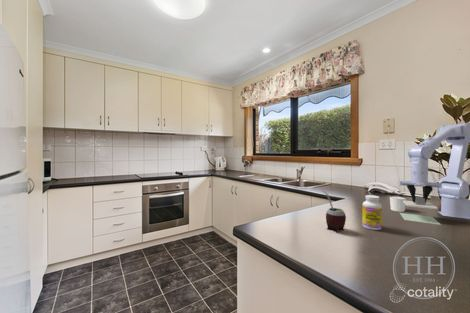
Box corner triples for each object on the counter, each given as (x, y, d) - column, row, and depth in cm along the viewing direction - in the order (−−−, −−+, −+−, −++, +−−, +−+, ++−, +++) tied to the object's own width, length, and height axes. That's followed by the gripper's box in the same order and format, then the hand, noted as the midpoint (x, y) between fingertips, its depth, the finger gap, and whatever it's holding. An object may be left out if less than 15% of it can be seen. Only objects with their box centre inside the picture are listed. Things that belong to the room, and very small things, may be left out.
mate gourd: (348, 233, 78) (348, 194, 77) (325, 232, 79) (326, 193, 79) (342, 226, 85) (342, 190, 85) (321, 225, 87) (322, 189, 86)
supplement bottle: (362, 228, 83) (363, 197, 82) (361, 223, 89) (361, 194, 88) (383, 231, 80) (383, 198, 79) (380, 226, 85) (380, 195, 85)
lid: (430, 204, 96) (430, 196, 96) (437, 209, 87) (437, 200, 87) (402, 201, 101) (403, 194, 101) (407, 206, 92) (407, 198, 92)
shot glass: (409, 213, 104) (409, 199, 104) (395, 212, 104) (396, 199, 104) (399, 209, 111) (399, 196, 111) (386, 209, 111) (386, 196, 111)
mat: (432, 217, 96) (432, 216, 96) (441, 225, 86) (441, 224, 86) (399, 213, 102) (399, 212, 102) (404, 220, 92) (404, 219, 92)
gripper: (400, 172, 94) (400, 202, 94) (444, 174, 87) (444, 206, 87) (398, 171, 100) (397, 199, 100) (438, 172, 93) (438, 202, 93)
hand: (419, 202), depth 94 cm, fingers closed on lid, 3 cm apart
